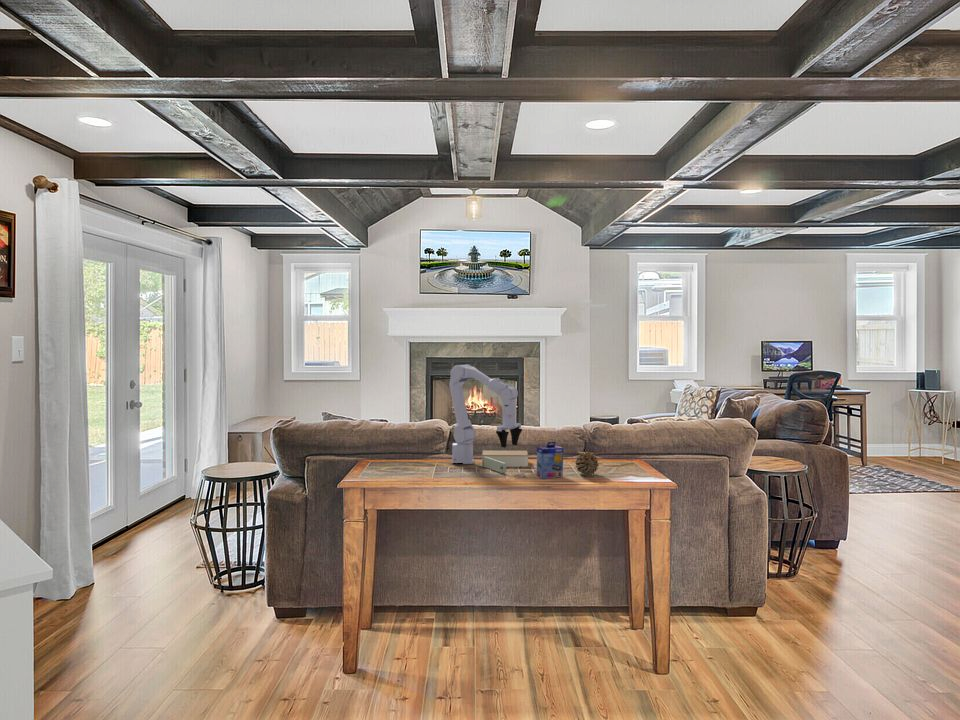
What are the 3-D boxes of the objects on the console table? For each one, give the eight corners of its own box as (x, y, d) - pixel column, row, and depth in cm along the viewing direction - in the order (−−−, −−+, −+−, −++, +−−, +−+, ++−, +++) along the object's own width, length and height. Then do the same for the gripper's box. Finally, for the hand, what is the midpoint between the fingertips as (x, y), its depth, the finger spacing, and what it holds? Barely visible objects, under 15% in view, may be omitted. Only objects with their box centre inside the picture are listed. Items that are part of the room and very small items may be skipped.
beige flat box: (482, 466, 290) (482, 455, 289) (482, 461, 302) (482, 450, 301) (527, 466, 289) (527, 455, 289) (527, 461, 301) (526, 450, 301)
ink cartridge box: (542, 479, 263) (542, 443, 262) (535, 476, 268) (535, 441, 268) (563, 477, 267) (564, 441, 266) (557, 474, 272) (557, 439, 271)
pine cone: (602, 479, 263) (602, 454, 263) (578, 479, 263) (578, 454, 262) (591, 468, 285) (591, 445, 285) (568, 468, 285) (568, 445, 284)
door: (481, 466, 289) (481, 456, 289) (484, 465, 290) (484, 456, 289) (502, 473, 272) (502, 463, 272) (506, 473, 273) (506, 463, 273)
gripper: (506, 417, 279) (506, 449, 279) (526, 414, 290) (526, 445, 290) (493, 415, 283) (493, 447, 284) (513, 412, 294) (513, 443, 295)
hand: (509, 446), depth 287 cm, fingers open, 7 cm apart
